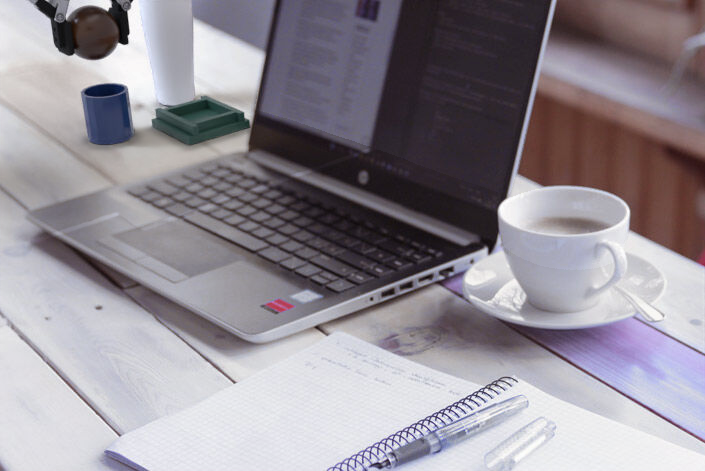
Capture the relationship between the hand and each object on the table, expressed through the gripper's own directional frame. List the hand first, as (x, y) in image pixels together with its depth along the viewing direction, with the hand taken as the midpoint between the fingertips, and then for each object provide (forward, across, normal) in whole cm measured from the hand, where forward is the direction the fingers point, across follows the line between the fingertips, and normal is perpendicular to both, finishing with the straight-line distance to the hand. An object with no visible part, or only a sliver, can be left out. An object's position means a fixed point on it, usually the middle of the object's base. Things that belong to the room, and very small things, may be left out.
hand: (93, 46), depth 113 cm
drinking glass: (+11, -14, -6) cm, 19 cm away
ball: (-2, 0, 0) cm, 2 cm away
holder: (+11, -11, +5) cm, 16 cm away
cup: (+12, -1, 0) cm, 12 cm away
